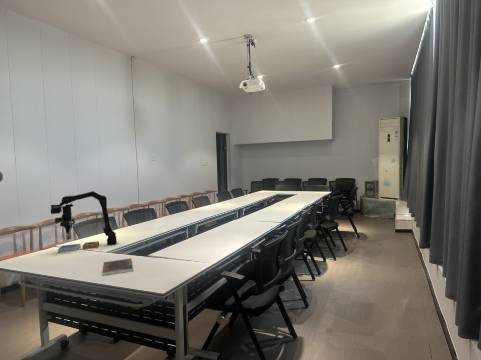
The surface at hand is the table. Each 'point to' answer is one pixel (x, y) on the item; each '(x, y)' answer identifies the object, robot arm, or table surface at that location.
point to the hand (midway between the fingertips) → (68, 233)
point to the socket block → (91, 245)
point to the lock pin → (68, 235)
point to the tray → (69, 248)
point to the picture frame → (117, 267)
